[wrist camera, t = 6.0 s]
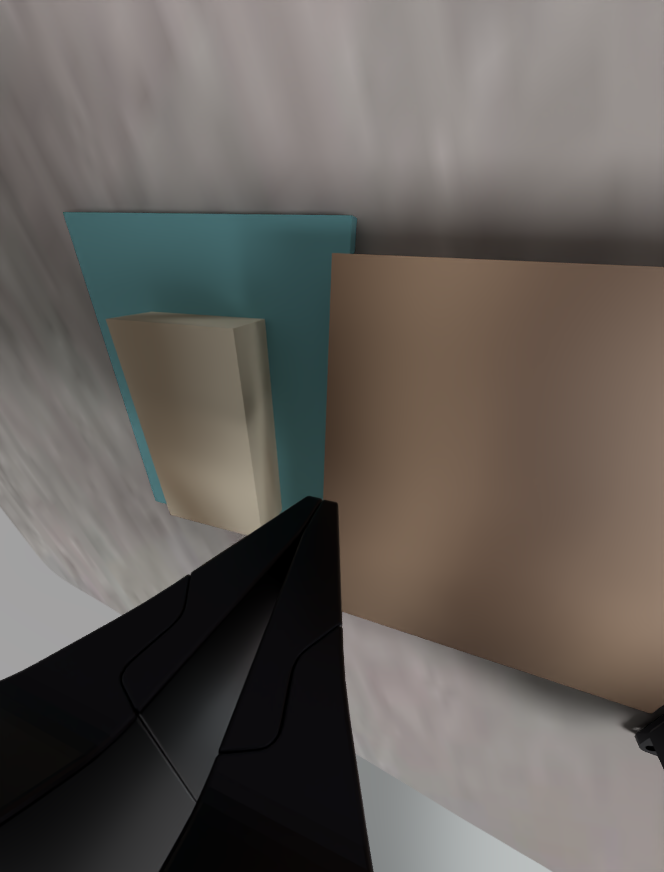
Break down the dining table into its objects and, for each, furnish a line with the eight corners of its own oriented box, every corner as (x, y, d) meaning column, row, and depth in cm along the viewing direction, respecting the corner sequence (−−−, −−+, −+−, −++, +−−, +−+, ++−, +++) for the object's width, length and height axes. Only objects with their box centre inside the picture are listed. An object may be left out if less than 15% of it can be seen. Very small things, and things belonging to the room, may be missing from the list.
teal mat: (357, 218, 9) (352, 215, 9) (335, 542, 16) (331, 550, 16) (78, 214, 12) (62, 211, 11) (163, 494, 19) (155, 501, 18)
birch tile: (105, 318, 10) (151, 311, 12) (170, 514, 15) (197, 489, 17) (233, 328, 9) (264, 319, 11) (262, 539, 14) (282, 509, 15)
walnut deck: (847, 279, 7) (1226, 291, 4) (596, 597, 13) (651, 713, 10) (369, 257, 10) (331, 252, 6) (345, 531, 15) (319, 604, 12)
